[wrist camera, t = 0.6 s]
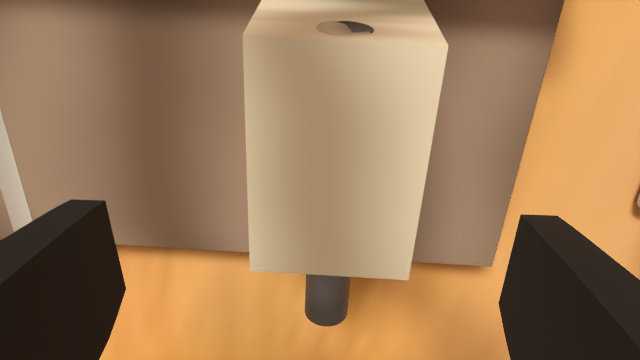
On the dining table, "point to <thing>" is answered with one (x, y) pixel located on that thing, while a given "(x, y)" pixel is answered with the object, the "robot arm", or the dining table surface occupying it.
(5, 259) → the robot arm
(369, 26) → the block
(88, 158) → the marking board
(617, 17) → the dining table surface
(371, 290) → the dining table surface
